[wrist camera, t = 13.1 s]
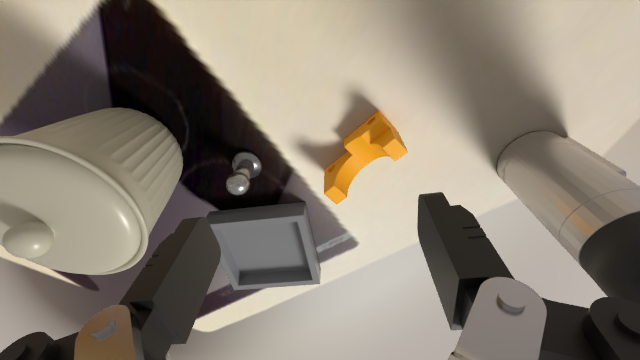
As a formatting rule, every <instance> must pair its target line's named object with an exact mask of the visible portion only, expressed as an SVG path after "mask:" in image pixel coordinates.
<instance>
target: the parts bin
mask: <svg viewBox="0 0 640 360" xmlns="http://www.w3.org/2000/svg"><path fill="white" fill-rule="evenodd" d="M206 219H207V220H208V222H209V224H210V226H211V228H212V230H213V232H214V234H215V236H216V238H217V241H218V243H219V245H220V248H221V258H220V262H221V264H222V266H223V268H224V270H225V272H226V274H227V276H228V278H229V280H230V282H231V284H232V286H233V288H234V290H242V289H256V288H270V287H284V286H297V285H311V284H320V271H321V269H320V264H319V260H318V256H317V251H316V247H315V242H314V238H313V234H312V229H311V225H310V220H309V216H308V212H307V207H306V203H305V202H298V203H289V204H279V205H269V206H260V207H250V208H241V209H231V210H222V211H213V212H209V214H208V215H207V217H206Z"/></svg>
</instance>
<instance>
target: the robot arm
mask: <svg viewBox="0 0 640 360" xmlns="http://www.w3.org/2000/svg"><path fill="white" fill-rule="evenodd" d="M497 172H498V175H499V177H500V178H501V179H502V180H503V181H504V183H505V184H506V185H507V186H508V187H509V188H510V189H511V190H512V191H513V193H514V194H515V195H516V196H517V197H518V198H519V199H520V200H521V201H522V202H523V204H524V205H525V206H526V207H527V208H528V209H529V210H530V211H531V212H532V213H533V214H534V216H536V218H537V219H538V220H539V221H540V222H541V223H542V224H543V225H544V226H545V228H546V229H547V230H548V231H549V232H550V233H551V234H552V235H553V236H554V237H555V239H556V240H557V241H558V242H559V243H560V244H561V245H562V246H563V247H564V248H565V249H566V250H567V252H568V253H569V254H570V255H571V256H572V257H573V258H574V259H575V260H576V261H577V262H578V263H579V265H580V266H581V267H582V268H583V269H584V270H585V271H586V272H587V273H588V274H589V275H590V277H591V278H592V279H593V280H594V281H595V282H596V283H597V285H598V286H599V287H600V288H601V289H602V291H603V292H604V293H605V294H606V295H607V296H608V297H603V298H600V299H597V300H596V301H594V302H593V303H592V305H591V306H590V308H584V307H579V306H574V305H569V304H564V303H559V302H554V301H550V300H547V299H544V298H541V297H540V296H539V295H538V294H537V293H536V292H535V291H534V290H533V289H532V288H530V287H529V286H527V285H526V284H524V283H522V282H520V281H517V280H515V279H514V278H513V276H512V275H511V273H510V272H509V270H508V268H507V267H506V265H505V264H504V262H503V261H502V259H501V258H500V256H499V255H498V253H497V251H496V250H495V248H494V247H493V245H492V244H491V242H490V240H489V239H488V238H487V237H486V234H485V233H484V231H483V229H482V228H480V225H479V223H478V222H477V220H476V218H475V217H474V215H473V214H472V213H470V212H469V211H468V210H466V209H465V208H464V207H462V206H461V205H455V206H450V205H449V203H448V201H447V199H446V197H445V196H444V194H443V193H442V192H438V193H429V194H420V195H419V199H418V236H419V241H420V244H421V247H422V250H423V252H424V256H425V258H426V261H427V264H428V267H429V270H430V272H431V275H432V278H433V281H434V283H435V286H436V289H437V292H438V295H439V297H440V300H441V303H442V306H443V309H444V311H445V314H446V317H447V320H448V323H449V326H450V329H451V330H463V331H462V333H461V336H460V338H459V341H458V343H457V346H456V348H455V350H454V352H452V353H451V354H450V356H449V358H448V360H640V186H638V185H637V184H635V183H633V182H632V181H630V180H629V179H627V178H626V172H625V171H624V170H623V169H621V168H619V167H618V166H616V165H614V164H613V163H611V162H610V161H608V160H606V159H605V158H603V157H601V156H600V155H598V154H596V153H595V152H593V151H591V150H590V149H588V148H586V147H585V146H583V145H581V144H580V143H578V142H577V141H575V140H573V139H572V138H570V137H560V136H559V135H557V134H555V133H553V132H550V131H536V132H532V133H528V134H526V135H523V136H521V137H519V138H518V139H516V140H515V141H513V142H512V143H511V144H510V145H508V146H507V147H506V149H505V150H504V151H503V152H502V154H501V156H500V157H499V160H498V163H497ZM220 258H221V248H220V245H219V243H218V241H217V238H216V236H215V234H214V232H213V230H212V228H211V226H210V224H209V222H208V220H207V219H206V218H204V217H199V218H190V219H184V220H182V221H181V223H180V224H179V226H178V227H177V229H176V230H175V232H174V233H173V234H170V235H169V236H168V237H167V238H166V239H165V240H164V241H162V242H161V243H160V244H159V246H158V247H157V249H156V250H155V251H154V253H153V255H152V258H150V259H149V260H148V262H147V263H146V265H145V267H144V268H143V269H142V271H141V272H140V274H139V275H138V276H137V278H136V279H135V281H134V282H133V284H132V285H131V287H130V288H129V290H128V291H127V293H126V294H125V296H124V297H123V299H122V300H121V301H120V303H119V304H118V305H114V306H111V307H108V308H106V309H104V310H102V311H100V312H99V313H98V314H96V315H95V316H93V317H92V318H91V319H90V320H89V321H88V322H87V323H86V324H85V325H84V326H83V327H82V329H81V330H80V332H77V333H74V334H72V335H69V336H66V337H63V338H61V339H58V340H53V339H52V338H51V337H50V336H48V335H47V334H46V333H44V332H35V333H31V334H29V335H26V336H24V337H22V338H20V339H18V340H17V341H15V342H14V343H12V344H11V345H10V346H8V347H7V348H6V349H5V350H3V351H2V352H1V353H0V360H171V358H170V356H169V354H168V350H169V348H170V346H171V344H186V341H187V339H188V336H189V334H190V332H191V329H192V327H193V325H194V322H195V320H196V317H197V315H198V312H199V310H200V308H201V305H202V303H203V300H204V298H205V295H206V293H207V291H208V288H209V286H210V283H211V281H212V278H213V276H214V273H215V271H216V269H217V266H218V264H219V262H220Z"/></svg>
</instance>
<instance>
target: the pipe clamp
mask: <svg viewBox="0 0 640 360" xmlns="http://www.w3.org/2000/svg"><path fill="white" fill-rule="evenodd" d="M344 147H345V148H346V149H347V150H348V151H347V152H346V153H345V154H344V155H342V156H341V157H340V158H339V159H337V160H336V161H335V162H334V163H333V164H331V165H330V166H329V167H328V168H326V169H325V176H324V194H325V195H326V196H327V197H328V198H330V199H331V200H332V201H333V202H334V203H336V204H338V203H339V202H341V201H342V200H343V199H345V198H346V197H347V192H348V188H349V186H350V184H351V182H352V180H353V179H354V177H355V176H356V175H357V173H358V172H359V171H360V170H361V169H362V168H363V167H364V166H366V165H367V164H368V163H370V162H371V161H373V160H375V159H377V158H379V157H383V156H389V157H391V158H392V159H393V160H394V161H396V160H398V159H399V158H400V157H402V156H403V155H404V154H406V153H407V152H408V151H407V149H406V147H405V145H404V143H403V141H402V139H401V137H400V135H399V133H398V131H397V130H396V129H395V128H394V127H393V125H392V124H391V123H390V122H389V121H388V120H387V119H386V118H385V117H384V115H383V114H382V113H381V112H380V111H379V110H378V111H377V112H376V113H375V114H374V115H373V116H371V117H370V118H369V119H368V120H367V121H366V122H364V123H363V124H362V125H361V126H360V127H358V128H357V129H356V130H355V131H354V132H353V133H351V134H350V135H349V136H348V137H347V138H345V139H344Z"/></svg>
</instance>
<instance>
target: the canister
mask: <svg viewBox="0 0 640 360" xmlns="http://www.w3.org/2000/svg"><path fill="white" fill-rule="evenodd" d="M182 168H183V157H182V151H181V150H180V146H179V144H178V143H177V141H176V138H175V137H174V136H173V135H172V133H171V132H170V131H169V130H168V129H167V127H165V126H164V125H163V124H162V123H161V122H159V121H157V120H156V119H155V118H154V117H151V116H149V115H148V114H146V113H142V112H140V111H138V110H133V109H130V108H121V107H119V108H106V109H102V110H97V111H94V112H90V113H86V114H83V115H79V116H76V117H73V118H69V119H66V120H63V121H60V122H57V123H54V124H51V125H47V126H44V127H41V128H38V129H35V130H32V131H29V132H25V133H22V134H19V135H16V136H0V244H1V245H2V246H3V247H4V248H5V249H6V250H7V251H8V252H9V253H10V254H12V255H14V256H17V257H20V258H25V259H27V260H29V261H31V262H34V263H36V264H39V265H42V266H44V267H48V268H51V269H55V270H59V271H63V272H69V273H78V274H89V275H102V274H112V273H117V272H120V271H123V270H126V269H128V268H130V267H132V266H133V265H134V264H136V263H137V262H138V261H139V260H140V259H141V258H142V256H143V255H144V253H145V251H146V249H147V245H148V235H149V234H150V232H151V230H152V229H153V226H154V225H155V223H156V221H157V219H158V218H159V216H160V214H161V212H162V211H163V209H164V207H165V205H166V204H167V202H168V200H169V198H170V196H171V194H172V192H173V190H174V188H175V187H176V185H177V183H178V180H179V178H180V176H181V173H182Z"/></svg>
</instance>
